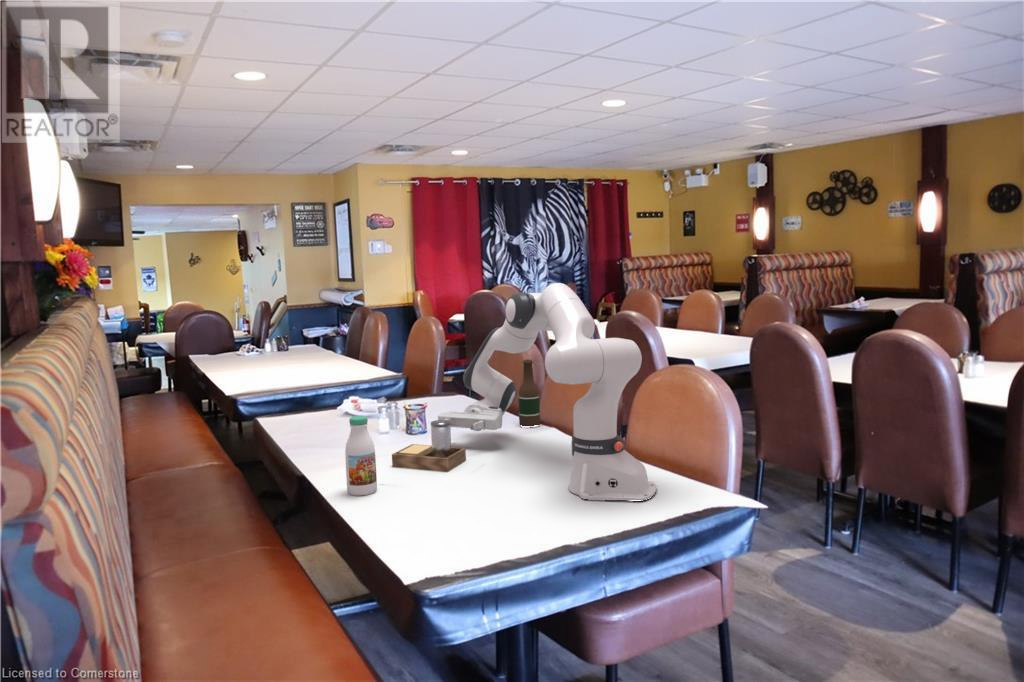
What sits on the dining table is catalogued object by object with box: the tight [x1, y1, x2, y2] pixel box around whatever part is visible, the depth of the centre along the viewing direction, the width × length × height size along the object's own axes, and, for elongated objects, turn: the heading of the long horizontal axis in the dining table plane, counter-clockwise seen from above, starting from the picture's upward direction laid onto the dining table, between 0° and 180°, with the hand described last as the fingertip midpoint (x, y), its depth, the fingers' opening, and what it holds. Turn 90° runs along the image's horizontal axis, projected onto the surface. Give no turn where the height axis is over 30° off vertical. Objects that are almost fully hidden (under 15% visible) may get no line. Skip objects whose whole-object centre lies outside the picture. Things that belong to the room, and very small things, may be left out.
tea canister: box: [430, 419, 452, 458], centre depth 208 cm, size 6×6×13 cm
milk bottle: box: [344, 415, 378, 497], centre depth 187 cm, size 8×8×20 cm
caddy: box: [391, 443, 467, 473], centre depth 210 cm, size 18×12×4 cm, turn 68°
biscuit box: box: [399, 444, 432, 456], centre depth 211 cm, size 6×9×4 cm, turn 158°
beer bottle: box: [517, 359, 541, 426], centre depth 256 cm, size 8×8×24 cm
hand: (458, 426), depth 219 cm, fingers open, 8 cm apart
